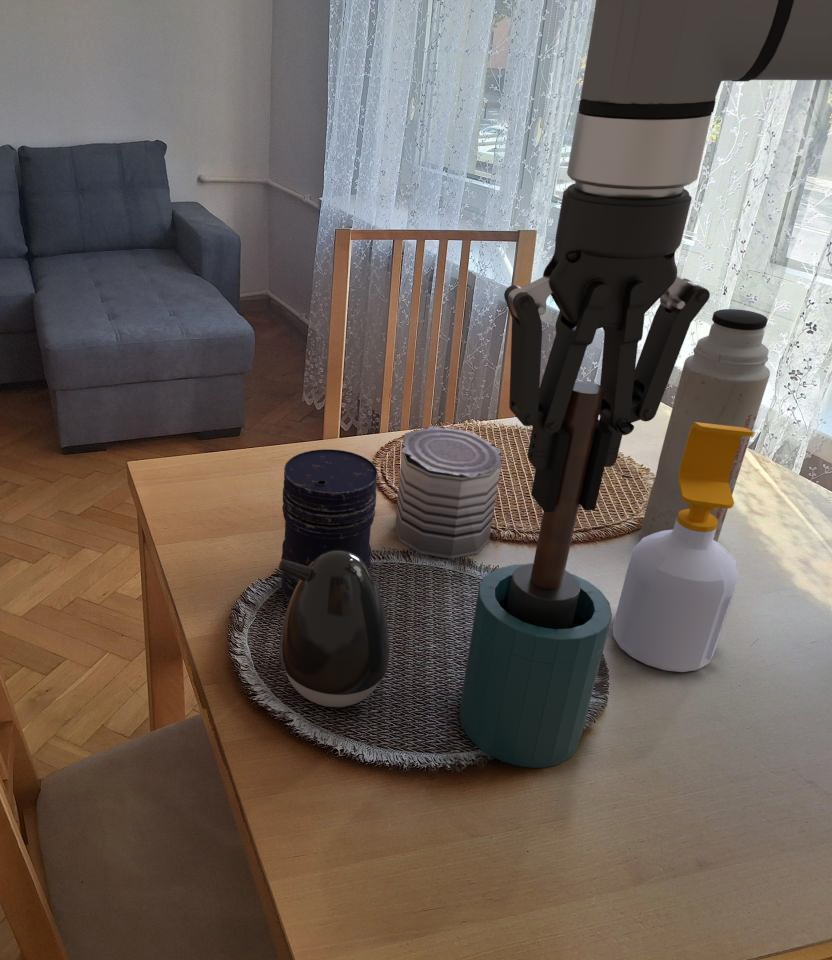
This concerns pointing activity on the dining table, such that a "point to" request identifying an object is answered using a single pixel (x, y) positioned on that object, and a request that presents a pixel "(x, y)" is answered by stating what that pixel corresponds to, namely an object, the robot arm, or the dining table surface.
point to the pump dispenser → (334, 630)
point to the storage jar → (327, 507)
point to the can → (446, 492)
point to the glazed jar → (530, 676)
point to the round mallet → (559, 526)
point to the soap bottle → (684, 565)
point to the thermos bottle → (711, 406)
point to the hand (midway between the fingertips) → (562, 501)
